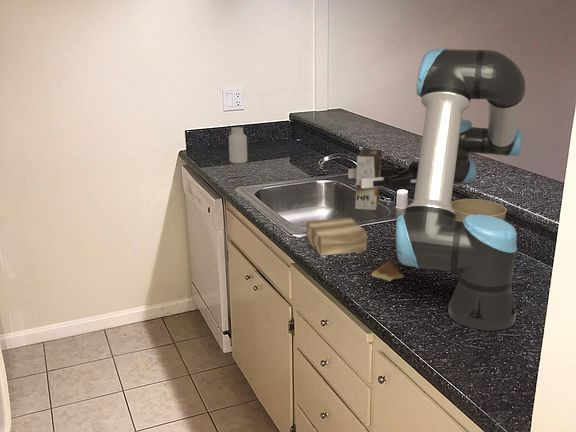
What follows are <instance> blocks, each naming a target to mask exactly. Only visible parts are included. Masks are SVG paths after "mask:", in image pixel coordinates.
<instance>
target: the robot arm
mask: <svg viewBox="0 0 576 432" xmlns="http://www.w3.org/2000/svg"><path fill="white" fill-rule="evenodd" d="M421 59H422V60H421V62H420V65H419V69H418V72H417V80H416V95H417V96H418V97H420V98H421V104H422V105H423V107H425V109H426V111H425V117H424V124H423V129H422V130H423V131H422V139H421V145H420V152H419V160H417V161H412V162H411V163H410V164H409V167H408V168H407V167H404V166H401V165H400V164H398V165H397V164H395V165H381V174H380V177H377V178H363V179H361V188H375V187H380V188H383V187H384V188H387V189H389V190H394V189H399V188H403V187H404V188H405V187H408V186H412V187H414V195H413V199H412V200H413V201H412V202H411V203H410V204H408V205H407V206H405V211H404V212H405V213H404V214H401V215H398V216H397V219H396V223H395V248H396V255H397V256H396V257H397V259H398V261H399V263H401V264H402V265H404V266H409V267H412V268H416V269H421V268H422V269H429V270H437V271H443V272H450V273H451V272H452V273H458V283H457V285H456V287H455V289H454V291H453V293H452V296H451V298H450V300H449V302H448V312H447V313H448V316H449V317H450V318H451V319H452V320H453V321H455V322H456V323H457V324H459V325H461V326H463V327H466V328H469V329H472V330H473V329H474V330H478V331H489V332H492V331H493V332H494V331H502V330H503V331H504V330H506V329H508V328H511V327H512V326H513V325H515V323H516V321H517V307H516V303H515V300H514V299H515V298H514V294H513V291H512V285H513V275H514V266H515V258H516V257H515V256H516V252H517V251H518V250H517V249H518V247H517V240H518V239H517V238H518V237H517V235H518V233H517V231H516V228H515V227H514V226H513V225H512V224H510V223H509V222H507V221H505V220H504V221H503V220H501V219H498V218H495V217H492V216H487V215H479V214H477V215H468V216H466V217H465V219H464V220H463V222H460V221H455V218H456V213H455V212H454V210H453V209H452V208H451V206H450V205H451V203H452V197H453V188H454V185H461V184H467V183H471V182H473V180H474V179H475V178H476V175H477V168H476V167H477V166H476V162H475V161H474V160H473V159H472V158H470V154H471V153H472V154H482V155H483V154H484V155H493V156H505V157H509V156H510V157H511V156H512V157H514V156H515V157H517V156H519V155H520V154H521V152H522V145H523V135H524V134H523V130H522V131H521V130H519V129H517V127H518V121H519V120H518V119H519V111H520V110H519V109H520V103H521V102H522V101H523V99H524V97H525V93H526V80H525V76H524V74H523V72H522V70H521V69H520V68H519V66H518V64H517V63H516V62H514V61H513V60H512V59H511V58H510V57H509V56H507V55H506V54H504V53H501V52H499V51H497V50H492V49H463V48H462V49H461V48H459V49H457V48H448V47H447V48H446V47H443V48H437V49H436V48H435V49H430V50H428V51H427V52H426V53H425V54H424V56H423V57H422V58H421ZM471 100H486V101H487V102H488V120H487V123H488V124H487V125H488V126H487V127H477V126H476V127H475V126H473V125H472V121H471V120H469V119H463V112H465V111H466V110H467V109H469V107H470V105H471ZM347 170H348V179H356V174H357V167H356V168H348V169H347ZM474 181H475V180H474Z"/></svg>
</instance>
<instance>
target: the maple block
mask: <svg viewBox="0 0 576 432" xmlns="http://www.w3.org/2000/svg"><path fill="white" fill-rule="evenodd" d="M306 240H307V241H308V242H309V243H310V245H311V246H312V247H313V248H314V249H315V251H316V252H317V253H318V254H319V255H320V256H329V255H339V254H341V255H342V254H351V253H359V252H360V253H361V252H367V248H368V246H367V245H368V232H367V231H366V230H365V229H364V228H363V227H362V226H360V225H359V224H358V223H357V222H356V220H354V219H353V218H352V217H340V218H330V219H321V220H320V219H319V220H307V221H306Z"/></svg>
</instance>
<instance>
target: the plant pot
mask: <svg viewBox="0 0 576 432" xmlns="http://www.w3.org/2000/svg"><path fill="white" fill-rule="evenodd" d="M450 206H451V208H452V209H453V210H454V212H455V213H456V218H455V221H460V222H463V220H464V219H465V217H466V216H468V215H477V214H479V215H487V216H492V217H495V218H498V219H501V220H503V221H505V218H506V215H507V211H508V208H506V206H504V205H503V204H500V203H498V202H495V201H492V200H487V199H480V198H479V199H477V198H463V199H456V200H454V201H451V205H450Z"/></svg>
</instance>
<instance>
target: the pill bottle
mask: <svg viewBox="0 0 576 432" xmlns="http://www.w3.org/2000/svg"><path fill="white" fill-rule="evenodd" d="M230 133H231V134H229V136H228V153H229V156H228V158H229V159H228V160H229V162H230V163H231V164H245V163H247V162H248V138H247V135H246V134H245V133H244V128H243V127H239V126H236V127H231V128H230Z"/></svg>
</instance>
